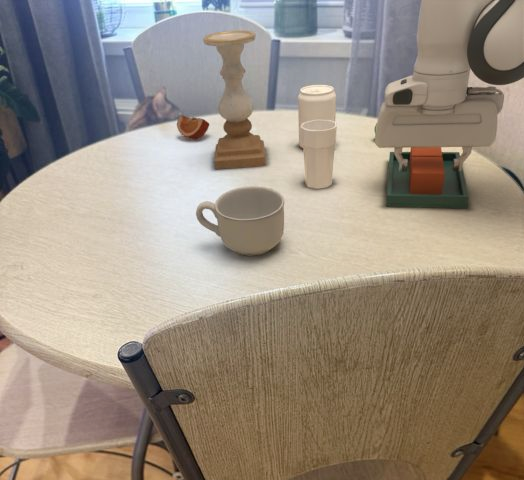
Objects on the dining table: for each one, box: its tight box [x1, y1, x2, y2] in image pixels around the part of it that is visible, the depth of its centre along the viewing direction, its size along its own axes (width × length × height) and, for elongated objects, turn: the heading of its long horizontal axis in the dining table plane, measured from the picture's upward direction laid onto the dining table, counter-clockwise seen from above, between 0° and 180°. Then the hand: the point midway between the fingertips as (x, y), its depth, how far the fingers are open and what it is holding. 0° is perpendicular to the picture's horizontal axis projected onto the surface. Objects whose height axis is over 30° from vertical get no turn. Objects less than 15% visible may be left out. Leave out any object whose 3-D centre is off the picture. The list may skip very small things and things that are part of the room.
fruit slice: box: [176, 114, 210, 140], centre depth 130 cm, size 8×7×5 cm
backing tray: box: [385, 151, 470, 209], centre depth 101 cm, size 14×22×2 cm, turn 168°
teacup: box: [195, 185, 285, 257], centre depth 84 cm, size 14×11×8 cm
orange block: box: [409, 157, 445, 195], centre depth 97 cm, size 6×8×4 cm
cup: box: [301, 120, 338, 190], centre depth 101 cm, size 7×7×11 cm
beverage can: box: [297, 84, 337, 149], centre depth 117 cm, size 8×8×12 cm
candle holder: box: [202, 30, 267, 170], centre depth 110 cm, size 11×11×24 cm
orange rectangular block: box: [409, 147, 443, 168], centre depth 104 cm, size 6×8×4 cm
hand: (429, 170), depth 97 cm, fingers open, 8 cm apart
